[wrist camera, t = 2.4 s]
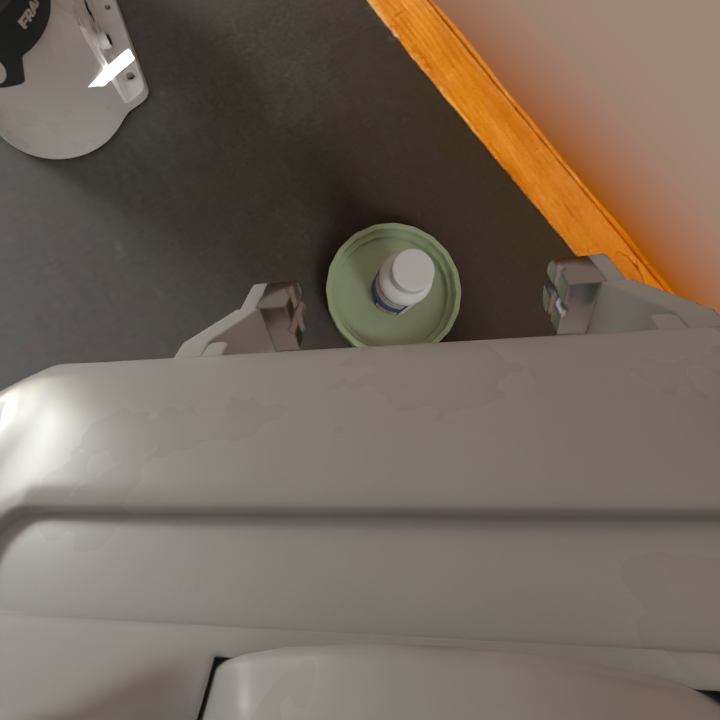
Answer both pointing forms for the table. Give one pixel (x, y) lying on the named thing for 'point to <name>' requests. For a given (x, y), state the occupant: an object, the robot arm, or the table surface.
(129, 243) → the table surface
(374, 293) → the pill bottle
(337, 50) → the table surface
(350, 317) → the dish
